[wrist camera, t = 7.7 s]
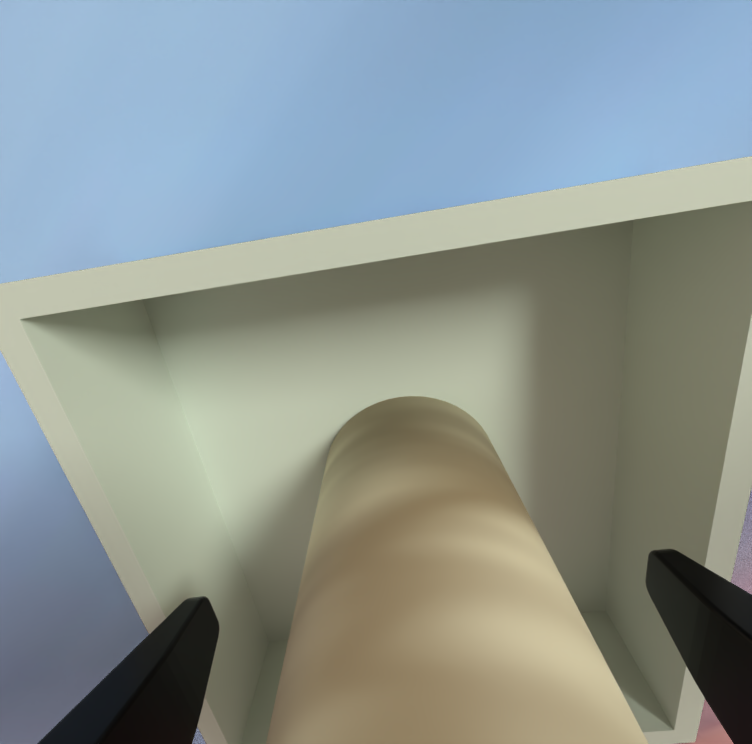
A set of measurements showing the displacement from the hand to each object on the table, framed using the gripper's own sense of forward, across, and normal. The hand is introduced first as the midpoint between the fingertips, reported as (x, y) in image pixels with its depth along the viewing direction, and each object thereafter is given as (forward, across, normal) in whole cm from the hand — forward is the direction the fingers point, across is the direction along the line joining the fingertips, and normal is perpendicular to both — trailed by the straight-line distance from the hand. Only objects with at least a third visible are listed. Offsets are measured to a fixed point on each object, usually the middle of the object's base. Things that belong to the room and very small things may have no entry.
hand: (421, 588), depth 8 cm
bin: (+4, 0, 0) cm, 4 cm away
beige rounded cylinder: (+4, 0, 0) cm, 4 cm away
